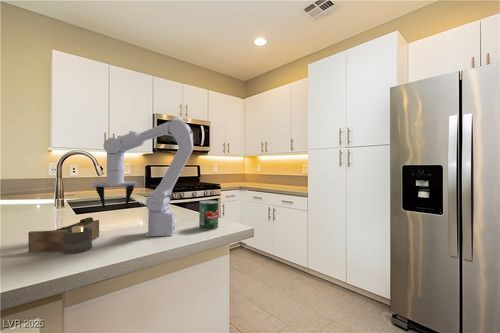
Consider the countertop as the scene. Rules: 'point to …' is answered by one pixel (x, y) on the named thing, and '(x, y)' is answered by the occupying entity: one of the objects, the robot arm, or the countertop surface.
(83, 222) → the hand tool
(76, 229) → the pin
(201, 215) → the canned tomato
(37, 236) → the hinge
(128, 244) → the countertop surface
